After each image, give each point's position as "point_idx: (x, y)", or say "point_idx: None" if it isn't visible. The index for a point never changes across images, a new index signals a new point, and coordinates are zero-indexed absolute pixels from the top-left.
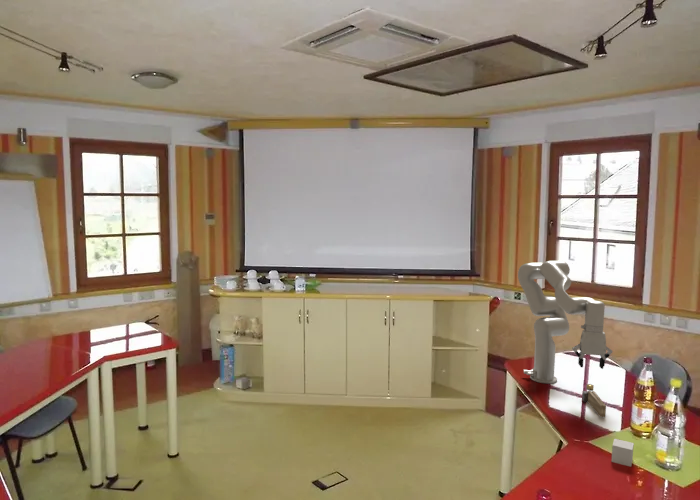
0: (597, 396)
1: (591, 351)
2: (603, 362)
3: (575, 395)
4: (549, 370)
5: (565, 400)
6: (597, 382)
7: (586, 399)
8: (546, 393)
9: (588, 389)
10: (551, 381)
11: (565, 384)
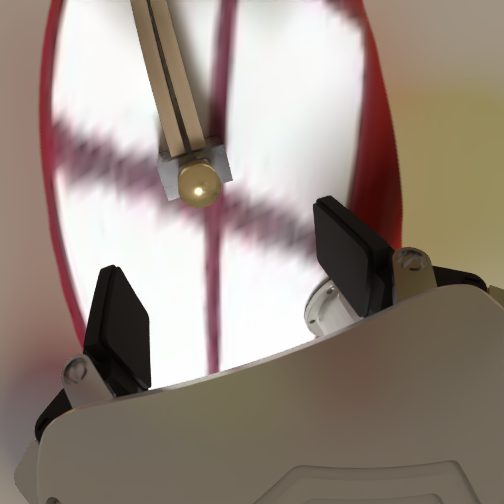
0: (154, 68)
1: (362, 403)
2: (88, 319)
3: (250, 205)
4: (356, 316)
5: (298, 119)
6: (177, 365)
7: (206, 141)
8: (360, 173)
9: (206, 162)
10: (330, 286)
11: (279, 301)
